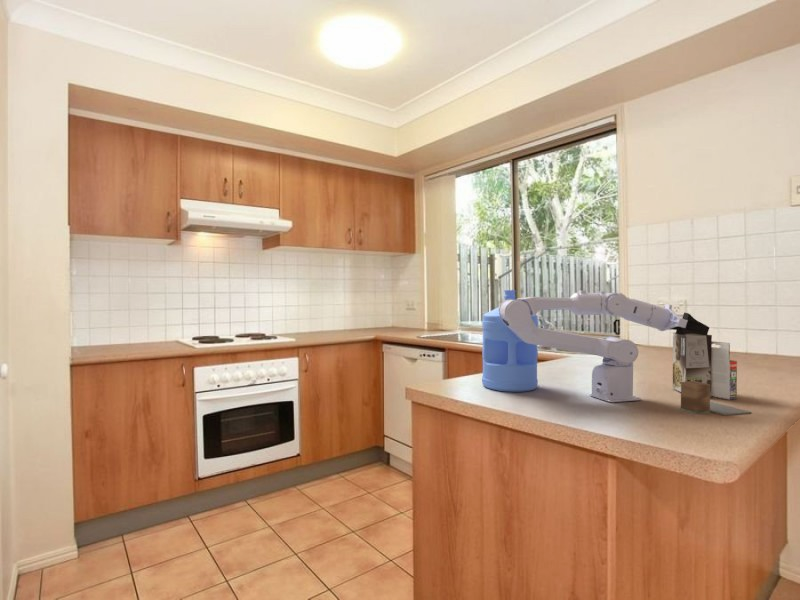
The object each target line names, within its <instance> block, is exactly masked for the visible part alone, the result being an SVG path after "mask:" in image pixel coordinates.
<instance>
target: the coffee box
mask: <svg viewBox="0 0 800 600" xmlns="http://www.w3.org/2000/svg"><path fill="white" fill-rule="evenodd" d="M712 337H713V335H712V334H707V335H698V334H685V335H679V334H676V332H672V389H673V390H675V391H676V392H677V391H678V392H679V393H681V382H687V381H697V382H702V383H706V384H710V397H712V396H711V350H712V345H713V344H712V341H713V340H712Z"/></svg>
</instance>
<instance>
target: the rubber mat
mask: <svg viewBox="0 0 800 600" xmlns="http://www.w3.org/2000/svg"><path fill="white" fill-rule="evenodd" d="M710 413H714V414H717V415H720V416H726V417H727V416H735V415H736V416H737V415H745V414H746V415H747V414H752V411H750V410H745V409H742V408H737V407H733V406H730V405H726V404H722V403H719V402H714V401H710Z"/></svg>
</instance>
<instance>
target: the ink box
mask: <svg viewBox="0 0 800 600" xmlns="http://www.w3.org/2000/svg"><path fill="white" fill-rule="evenodd" d="M713 344H714V345H717V346H720V347H714V346H713V347H712V350H711V396H710V397H712V396H713V398H717V397H718V398H717V399H722V398H723V399H724V400H736V399H737V397H738V395H737V394H738V393H737V392H738V390H737V389H738V387H737V385H738V382H737V381H738V380H737V379H738V361H737V360H731V359H730V353H731V352H730V351H731V349H730V346H731V345H730V344H731V343H730V342H725V341H724V342H723V341H713V340H712V345H713Z"/></svg>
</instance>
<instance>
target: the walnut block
mask: <svg viewBox="0 0 800 600" xmlns="http://www.w3.org/2000/svg"><path fill="white" fill-rule="evenodd" d="M710 402H711V396H710V384H706V383H702V382H697V381H687V382H681V392H680V410H681V411H685V412H689V413H691V414H695V415H697V414H709V413H711V412H710Z"/></svg>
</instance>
